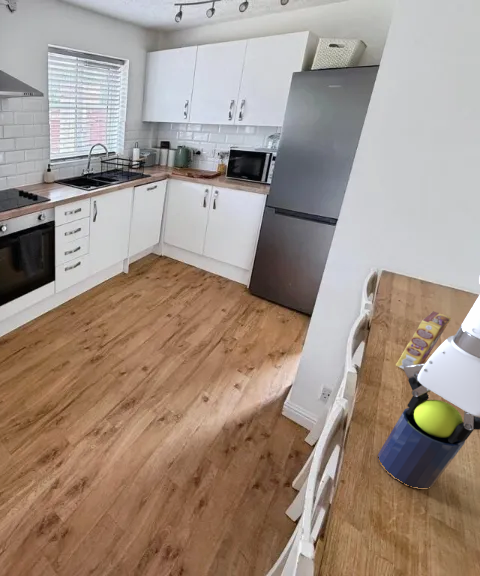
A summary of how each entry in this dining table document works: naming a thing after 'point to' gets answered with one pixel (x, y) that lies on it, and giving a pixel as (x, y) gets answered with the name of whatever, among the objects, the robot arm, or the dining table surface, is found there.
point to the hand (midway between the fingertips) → (433, 425)
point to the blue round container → (416, 453)
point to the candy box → (423, 340)
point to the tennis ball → (437, 418)
